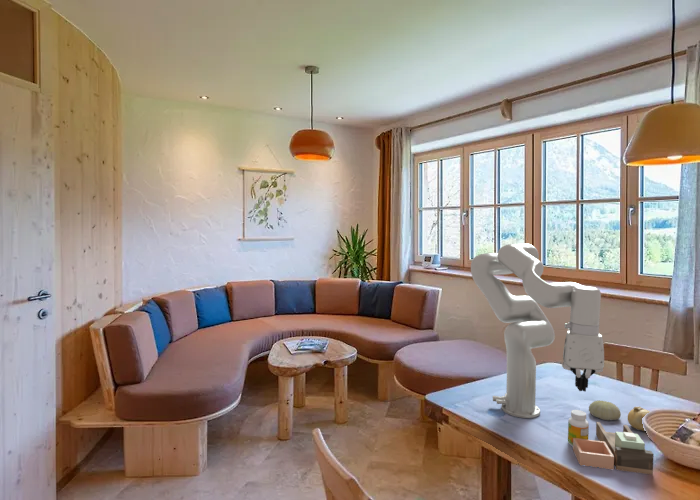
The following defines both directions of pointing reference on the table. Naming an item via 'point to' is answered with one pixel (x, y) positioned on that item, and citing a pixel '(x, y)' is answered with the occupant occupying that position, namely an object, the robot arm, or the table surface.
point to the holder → (593, 453)
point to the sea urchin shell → (604, 410)
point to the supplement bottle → (577, 426)
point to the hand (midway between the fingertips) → (581, 389)
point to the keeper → (629, 440)
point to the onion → (637, 417)
